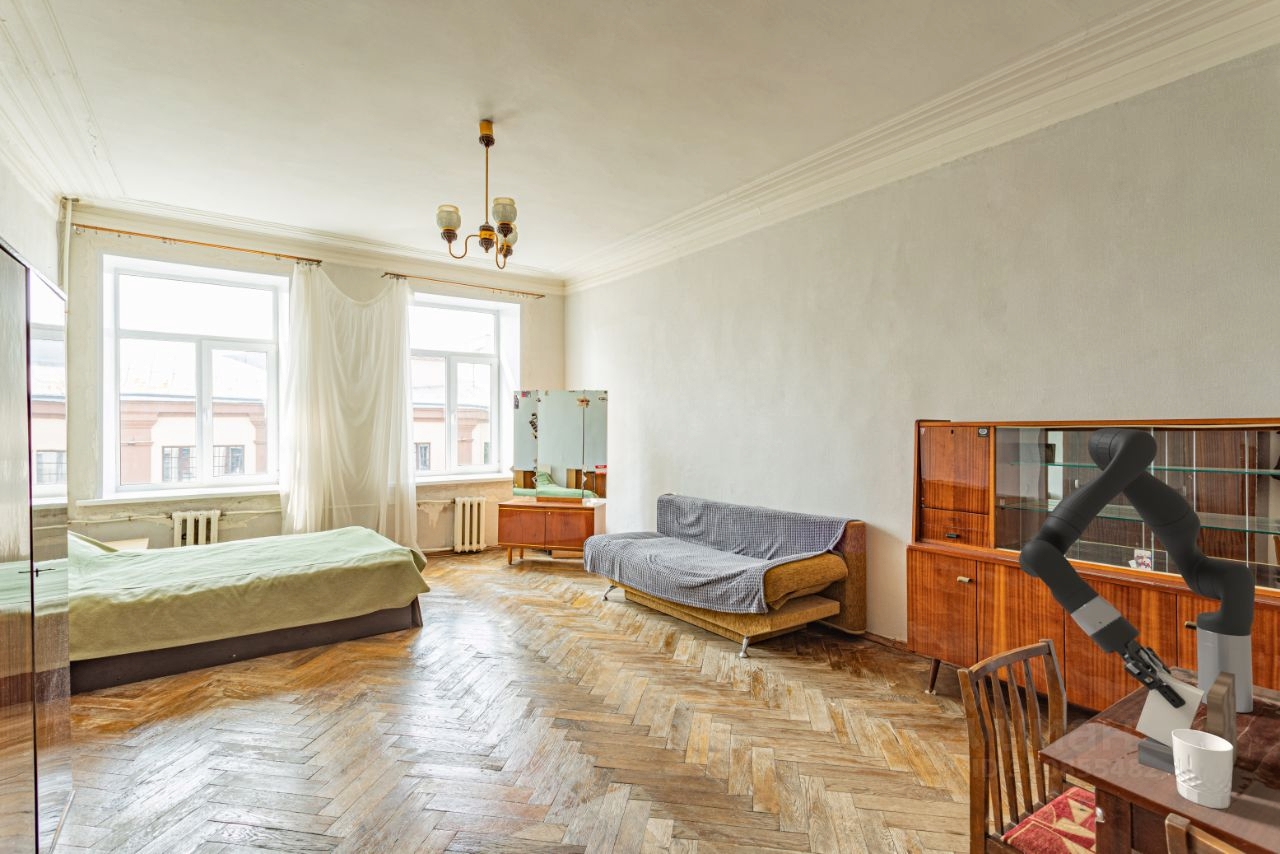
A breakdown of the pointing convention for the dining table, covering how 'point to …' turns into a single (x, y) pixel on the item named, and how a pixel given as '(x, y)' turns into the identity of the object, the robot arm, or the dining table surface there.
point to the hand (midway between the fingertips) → (1182, 703)
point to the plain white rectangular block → (1169, 711)
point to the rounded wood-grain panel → (1216, 723)
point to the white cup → (1203, 767)
